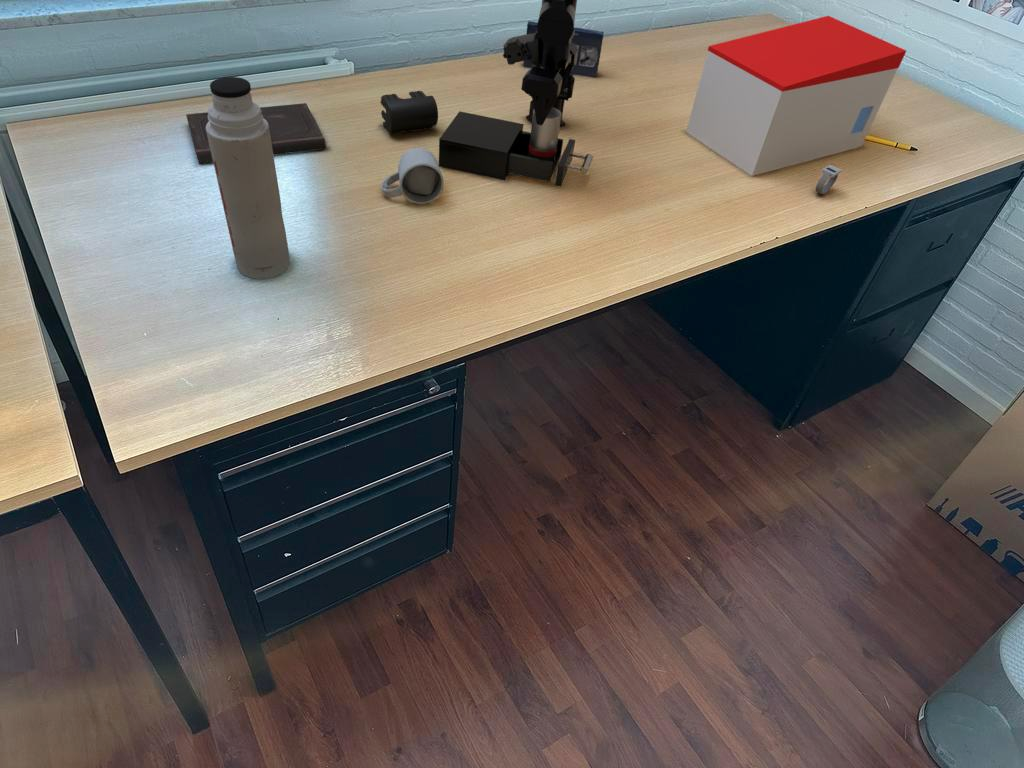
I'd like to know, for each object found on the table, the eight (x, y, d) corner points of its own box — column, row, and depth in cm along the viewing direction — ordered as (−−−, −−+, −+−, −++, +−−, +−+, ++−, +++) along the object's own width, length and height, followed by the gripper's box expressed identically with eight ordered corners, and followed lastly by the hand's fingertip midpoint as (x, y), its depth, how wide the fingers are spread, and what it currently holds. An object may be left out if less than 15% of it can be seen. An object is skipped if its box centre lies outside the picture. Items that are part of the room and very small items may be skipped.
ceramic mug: (437, 180, 133) (437, 141, 127) (443, 203, 127) (444, 164, 122) (379, 182, 131) (377, 143, 125) (383, 206, 125) (381, 166, 120)
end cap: (391, 140, 142) (390, 107, 137) (379, 125, 146) (378, 92, 142) (438, 134, 146) (438, 101, 141) (425, 119, 150) (425, 87, 145)
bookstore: (862, 146, 160) (907, 50, 145) (751, 176, 145) (788, 72, 130) (794, 107, 172) (829, 15, 157) (685, 131, 157) (712, 32, 142)
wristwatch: (823, 184, 145) (833, 162, 142) (835, 190, 144) (845, 167, 141) (808, 194, 142) (818, 171, 139) (820, 199, 141) (831, 177, 137)
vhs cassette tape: (522, 66, 175) (526, 23, 168) (524, 62, 177) (528, 19, 170) (596, 78, 174) (603, 35, 167) (597, 73, 176) (604, 31, 169)
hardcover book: (188, 125, 139) (185, 114, 138) (307, 113, 147) (306, 102, 145) (199, 165, 129) (196, 153, 128) (326, 150, 137) (324, 138, 136)
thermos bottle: (231, 278, 107) (189, 94, 88) (241, 247, 113) (203, 68, 93) (286, 279, 108) (256, 98, 89) (293, 249, 114) (266, 72, 94)
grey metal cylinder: (545, 153, 140) (551, 104, 133) (559, 166, 137) (567, 116, 130) (522, 158, 138) (527, 108, 131) (536, 171, 135) (542, 120, 128)
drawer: (593, 163, 141) (596, 144, 138) (582, 191, 133) (586, 171, 130) (512, 147, 143) (514, 127, 140) (497, 173, 135) (499, 153, 132)
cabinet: (520, 151, 144) (523, 123, 140) (504, 180, 135) (507, 152, 131) (458, 138, 145) (459, 111, 141) (438, 166, 137) (439, 138, 133)
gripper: (523, -1, 127) (515, 86, 138) (495, 33, 114) (489, 126, 125) (584, 10, 126) (571, 97, 137) (563, 46, 113) (550, 139, 124)
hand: (545, 114), depth 131 cm, fingers open, 9 cm apart
